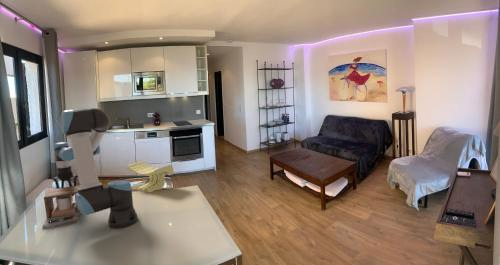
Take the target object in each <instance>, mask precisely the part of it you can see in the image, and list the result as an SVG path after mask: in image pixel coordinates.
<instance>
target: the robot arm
mask: <svg viewBox="0 0 500 265" xmlns="http://www.w3.org/2000/svg"><path fill="white" fill-rule="evenodd" d="M59 119H60V120H59V122H60V124H59V126H60V127H59V128H60V131H61V133H62V134H64V135H66V138H67V139H69V140H70V143H71V146H69V143H68V142H67V141H62V142H56V143H53V144H54V145H53V148H54V149H53V150H54V154H55V160H56V162H55V163H56V167H57V168H56V169H57V175H56V176H55V177H53V182H54V183H55V187H56V188H55V189H58V188H65V182H66V181H67V183H68V187H72V186H78V185H77V184H78V182H79V185H80V187H79V188H78V193H77V194H75V195H71V200H72V203H74V201H75V202H76V204H77V207H78V209H79V211H80V214H82V215H84V216H89V215H91V214H96V213H99V212H102V211H105V210H108V209H109V210H110V211H109V215H108V219H107V226H108V227H109V228H111V229H122V228H127V227H130V226H133V225H134V224H136V223H137V222H138V220H139V218H138V217H139V216H138V213H137V211H136V209H135V207H134V201H133V190H132V184H131V182H129V181H127V180H121V179H120V180H119V179H118V180H112V181H109V182H107V184H106V186H104V185H103V183H102V182H100V179H99V177H98V176H99V175H98V171H97V167H96V162H95V158H94V156H96V155H99V154H100V153H101V148H100V143H101V140H102V139H103V137H104V135H105V133H106V132H107V131H109V128H111V127H110V126H111V118H110V116H109V115H108V114H107V112H105V111H104V110H103V109H100V108H96V107H94V108H93V107H92V108H77V109H73V108H72V109H68V110H67V109H66V110H63V111H62V112H61V115H60V118H59ZM73 160H74V162H75V168H76V172H77V174H74V173H73V170H72V163H71V161H73ZM72 178H73V183H72ZM77 178H78V182H77ZM59 180H60V181H61V182H60V183H61V185H60V183H59Z"/></svg>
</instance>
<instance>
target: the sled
mask: <svg viewBox="0 0 500 265" xmlns="http://www.w3.org/2000/svg"><path fill="white" fill-rule="evenodd" d="M73 213H77V208H76V201H75V202H72V209H69V210H63V211H58V207H57V205H54V209H53V211H52V213H51V215H52V216H51V217H56V216H62V215H68V214H73Z"/></svg>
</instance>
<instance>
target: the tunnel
mask: <svg viewBox="0 0 500 265" xmlns="http://www.w3.org/2000/svg"><path fill="white" fill-rule="evenodd" d="M79 187H80V184H79V185H77V186H74V185H72V187H70V186H67V187H65V186H64V188H61V187H60V188H58V189H57V188H53V189H48V191H47V192H46V193H45V195H44V196H43V201H44V202H43V203H44V208H45V209H44V210H45V213H46V214H45V215H46V218H45V220H44V222H43V224H42V225H41V226H42V227H41V228H42V229H43V228H44V229H48V228H47V227H50V228H53V227H52V226H55V227H60V226H59V225H61V226H65V224H66V225H70V223H71V224H77V223H78V220H79V217H80V214H81V212H80V211H79V209H78V207H77V204H76V208H77V211H76V213H73V214H68V215H62V216H56V217H52V215H51V213H52V211H53V209H54V207H55V204H54V198H55V199H56V198H57V197H62V196H69V195H74V196H75V194H77V193H78V188H79ZM50 221H51V222H50ZM76 222H77V223H76Z"/></svg>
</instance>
